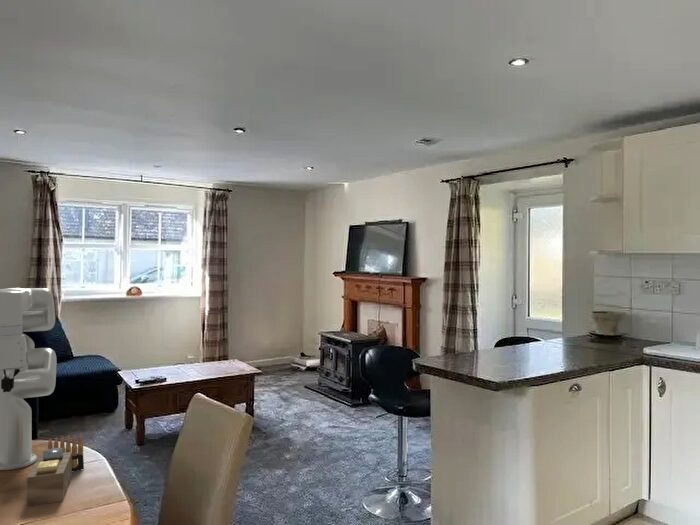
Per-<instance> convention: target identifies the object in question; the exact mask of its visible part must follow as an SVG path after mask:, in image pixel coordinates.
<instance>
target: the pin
mask: <svg viewBox="0 0 700 525" xmlns="http://www.w3.org/2000/svg"><path fill="white" fill-rule="evenodd" d="M42 455H43V461H52V460H61V459H63V449H62V448H60V447H59V448H54V447H52V449H48V448H47V449H45V450H43V452H42Z"/></svg>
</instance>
